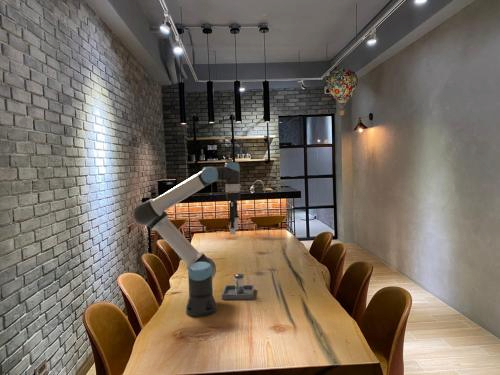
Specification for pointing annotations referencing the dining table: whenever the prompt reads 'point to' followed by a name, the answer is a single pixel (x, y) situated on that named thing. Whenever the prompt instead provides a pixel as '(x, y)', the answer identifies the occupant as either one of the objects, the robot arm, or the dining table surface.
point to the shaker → (239, 283)
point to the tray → (230, 294)
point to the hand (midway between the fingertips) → (234, 232)
